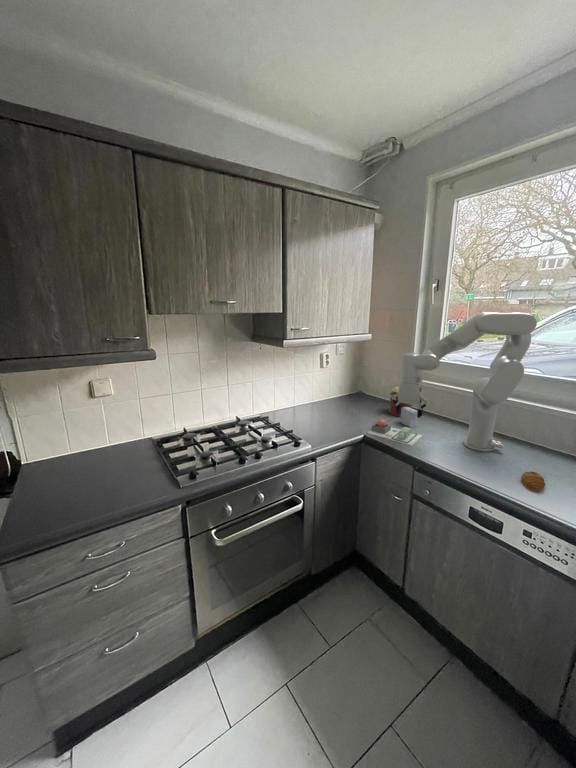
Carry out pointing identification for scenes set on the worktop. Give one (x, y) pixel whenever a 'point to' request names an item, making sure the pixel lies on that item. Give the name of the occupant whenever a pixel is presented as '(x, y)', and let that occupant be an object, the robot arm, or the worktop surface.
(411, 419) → the medicine box
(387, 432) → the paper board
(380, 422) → the button
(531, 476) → the pastry
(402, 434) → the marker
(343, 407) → the worktop surface
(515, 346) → the robot arm
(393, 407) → the canister
